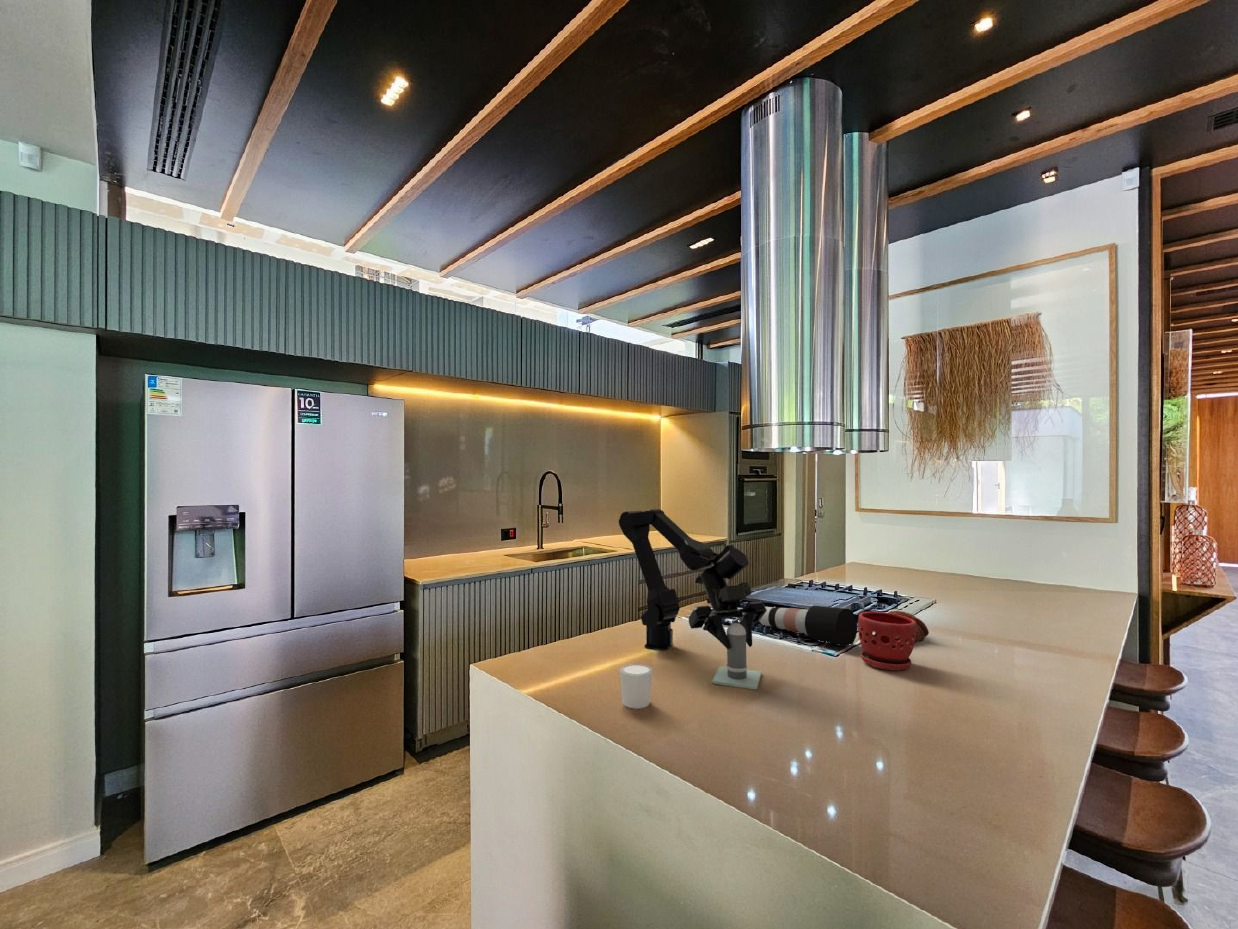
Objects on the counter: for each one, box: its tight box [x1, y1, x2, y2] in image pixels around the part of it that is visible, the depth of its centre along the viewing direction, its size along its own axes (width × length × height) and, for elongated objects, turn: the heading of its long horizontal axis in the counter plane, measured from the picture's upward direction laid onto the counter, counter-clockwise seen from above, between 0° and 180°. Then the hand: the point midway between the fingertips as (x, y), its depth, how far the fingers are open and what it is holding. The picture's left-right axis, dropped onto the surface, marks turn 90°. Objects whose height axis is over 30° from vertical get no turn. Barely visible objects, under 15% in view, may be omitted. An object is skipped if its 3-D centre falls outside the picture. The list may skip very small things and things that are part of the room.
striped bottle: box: [759, 604, 858, 646], centre depth 164 cm, size 10×34×10 cm, turn 35°
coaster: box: [711, 666, 762, 690], centre depth 127 cm, size 10×10×1 cm
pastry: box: [887, 610, 930, 644], centre depth 160 cm, size 17×15×8 cm
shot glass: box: [619, 663, 653, 710], centre depth 114 cm, size 7×7×7 cm
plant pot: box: [857, 611, 916, 671], centre depth 137 cm, size 13×13×12 cm
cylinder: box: [726, 622, 748, 679], centre depth 127 cm, size 5×5×12 cm
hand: (740, 647), depth 126 cm, fingers open, 5 cm apart
